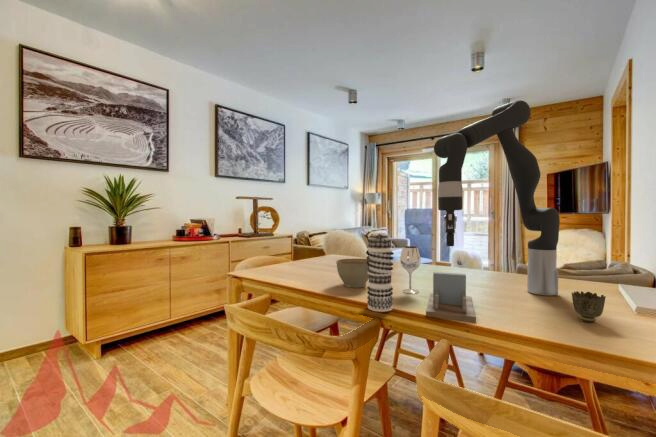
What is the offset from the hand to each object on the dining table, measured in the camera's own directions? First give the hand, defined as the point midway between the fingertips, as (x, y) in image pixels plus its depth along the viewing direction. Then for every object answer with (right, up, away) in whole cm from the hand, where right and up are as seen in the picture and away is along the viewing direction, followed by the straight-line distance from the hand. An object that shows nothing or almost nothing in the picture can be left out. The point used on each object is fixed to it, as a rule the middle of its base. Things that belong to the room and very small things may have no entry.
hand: (450, 244), depth 100 cm
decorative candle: (-23, -22, +2) cm, 32 cm away
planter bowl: (-29, -21, +32) cm, 48 cm away
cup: (+35, -21, -13) cm, 43 cm away
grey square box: (0, -20, +1) cm, 20 cm away
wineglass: (-8, -21, +21) cm, 31 cm away
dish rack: (0, -21, +1) cm, 21 cm away
